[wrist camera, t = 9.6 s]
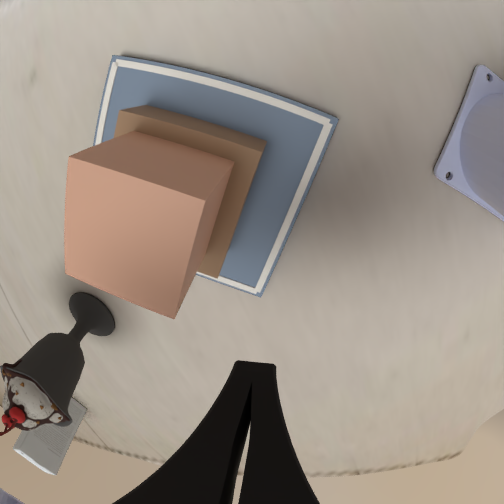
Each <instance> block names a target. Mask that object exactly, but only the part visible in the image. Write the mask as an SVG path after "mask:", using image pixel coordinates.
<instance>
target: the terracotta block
mask: <svg viewBox="0 0 504 504" xmlns="http://www.w3.org/2000/svg"><path fill="white" fill-rule="evenodd" d="M233 165H234V161H231V160H228V159H225V158H222V157H219V156H216V155H213V154H210V153H207V152H204V151H201V150H197V149H194V148H191V147H188V146H184V145H181V144H178V143H175V142H171V141H168V140H164V139H161V138H157V137H154V136H150V135H147V134H143V133H140V132H136V131H132V132H129V133H126V134H124V135H121V136H118V137H115V138H113V139H110V140H108V141H105V142H102V143H100V144H97V145H95V146H92V147H90V148H88V149H85V150H83V151H80V152H78V153H76V154H73V155H71V156H69V159H68V170H67V182H66V198H65V231H64V244H65V274H68V275H70V276H72V277H74V278H76V279H78V280H80V281H83V282H85V283H87V284H89V285H92V286H94V287H96V288H98V289H101V290H103V291H105V292H108V293H110V294H112V295H115V296H117V297H119V298H122V299H124V300H126V301H129V302H131V303H134V304H136V305H139V306H141V307H144V308H146V309H149V310H151V311H154V312H156V313H159V314H162V315H164V316H167V317H169V318H172V319H175V317H176V315H177V312H178V310H179V308H180V306H181V304H182V302H183V300H184V298H185V295H186V293H187V291H188V289H189V287H190V285H191V283H192V281H193V279H194V277H195V275H196V272H197V270H198V268H199V266H200V264H201V262H202V260H203V258H204V256H205V254H206V250H207V247H208V244H209V241H210V237H211V234H212V231H213V227H214V224H215V221H216V218H217V215H218V211H219V208H220V205H221V202H222V199H223V196H224V192H225V189H226V186H227V183H228V180H229V177H230V174H231V171H232V168H233Z"/></svg>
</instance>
